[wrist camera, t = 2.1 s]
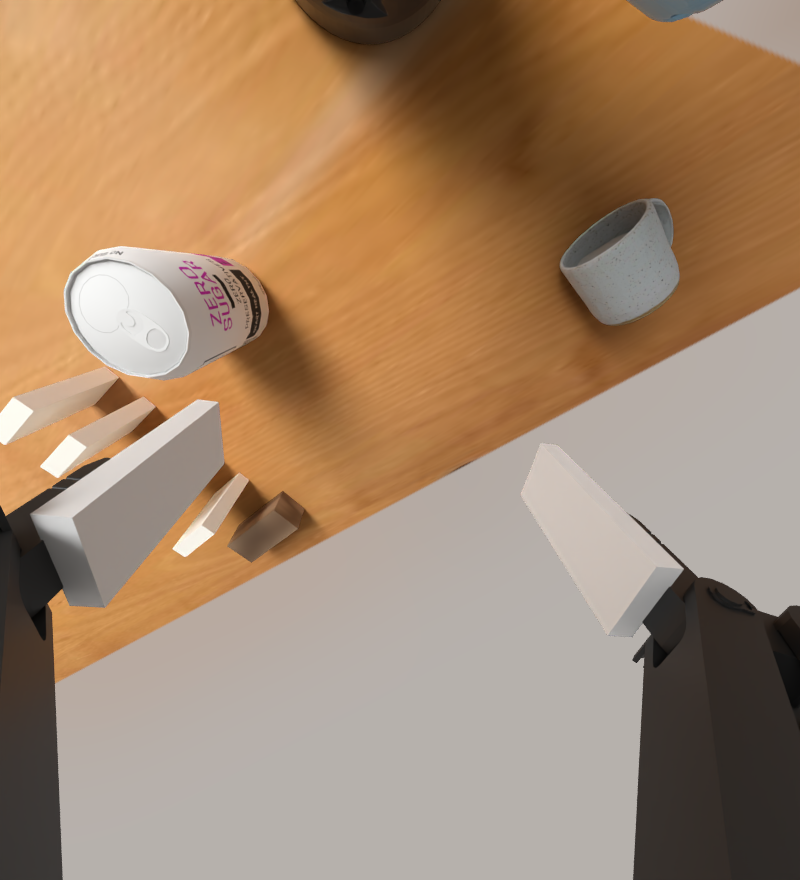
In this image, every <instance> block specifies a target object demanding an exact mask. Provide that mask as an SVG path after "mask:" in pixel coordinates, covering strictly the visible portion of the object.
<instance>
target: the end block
mask: <svg viewBox="0 0 800 880" xmlns="http://www.w3.org/2000/svg"><path fill="white" fill-rule="evenodd" d="M303 512H304V508H303V507H302V506H300V505H299V504H298V503H297V502H295V501H294V500H293V499H292V498H291V497H289V496H288V495H287V494H286V493H284V492H283V491H282V492H281V493H280V494H278V495H277V496H276V497H275V498H273V499H272V500H271V501H269V502H268V503H267V504H266V505H264V506H263V507H262V508H260V509H259V510H258V511H257V512H255V513H254V514H253V515H251V516H250V517H249V518H248V519H246V520H245V521H244V522H243V523H241V524H240V525H239V526H238V528H237V530H236V531H235V533H234V535H233V537H232V538H231V540H230V542H229V544H228V545H227V546H228V547H229V548H231V549H232V550H234V551H235V552H237V553H238V554H240V555H241V556H243V557H244V558H246V559H247V560H248V561H250V562H251V563H252V562H253V561H254V560H256V559H257V558H259V557H260V556H261V555H263V554H264V553H265V552H267V551H268V550H270V549H271V548H272V547H274V546H275V545H276V544H278V543H279V542H281V541H282V540H283V539H285V538H286V537H287V536H289V535H290V534H292V533H293V532H294V531H296V530H297V529H298V527H299V524H300V521H301V518H302V515H303Z"/></svg>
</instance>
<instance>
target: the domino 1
mask: <svg viewBox="0 0 800 880" xmlns="http://www.w3.org/2000/svg"><path fill="white" fill-rule="evenodd" d="M118 378H119V377H118V376H117V375H116V374H114V373H113V372H112V371H110V370H109V369H108V368H107V367H102V368H99V369H96V370H93V371H90V372H87V373H84V374H81V375H78V376H75V377H72V378H69V379H66V380H63V381H60V382H57V383H54V384H51V385H48V386H45V387H42V388H39V389H36V390H33V391H30V392H27V393H24V394H21V395H18V396H15V397H13V398H12V399H11V401H10V402H9V403H8V404H7V406H6V407H5V408H4V409H3V411H2V412H1V413H0V442H1V443H3V444H4V445H7V444H9V443H11V442H14V441H16V440H18V439H20V438H22V437H25V436H27V435H29V434H31V433H33V432H36V431H38V430H40V429H42V428H44V427H47V426H49V425H51V424H53V423H55V422H58V421H60V420H62V419H64V418H66V417H69V416H71V415H73V414H75V413H77V412H80V411H82V410H84V409H86V408H88V407H91V406H93V405H95V404H96V403H97V402H98V400H99V399H100V398H101V397H102V396H103V395H104V394H105V393H106V392H107V390H108V389H109V388H110V387H111V386H112V385H113V384H114V383H115V382H116V381H117V379H118Z"/></svg>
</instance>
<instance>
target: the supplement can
mask: <svg viewBox="0 0 800 880" xmlns="http://www.w3.org/2000/svg"><path fill="white" fill-rule="evenodd" d="M64 302H65V312H66V314H67V317H68V319H69V322H70V324H71V326H72V329H73V331H74V333H75V334H76V335H77V337H78V338H79V339H80V340H81V342H82V343H83V344H84V346H85V347H86V348H87V349H88V351H89V352H91V353H92V354H93V355H95V356H96V357H97V358H98V359H100V360H101V361H102V362H103V363H105V364H106V365H107V366H109V367H112V368H114V369H116V370H118V371H120V372H123V373H125V374H127V375H132V376H139V377H145V378H152V379H159V380H169V379H175V378H180V377H185V376H186V375H188V374H190V373H192V372H194V371H196V370H198V369H200V368H202V367H204V366H206V365H208V364H210V363H211V362H213V361H215V360H217V359H219V358H221V357H223V356H225V355H227V354H229V353H231V352H233V351H235V350H236V349H238V348H240V347H242V346H244V345H246V344H248V343H250V342H251V341H253V340H254V339H256V338H257V337H259V336H260V335H261V333H262V331H263V330H264V328H265V327H266V325H267V320H268V315H269V307H268V301H267V295H266V293H265V291H264V289H263V287H262V285H261V283H260V281H259V280H258V279H257V278H256V277H255V276H254V275H253V274H252V272H251V271H250V270H249V269H248V268H246V267H245V266H243V265H241V264H240V263H238V262H236V261H234V260H233V259H228V258H223V257H218V256H210V255H201V254H191V253H182V252H172V251H163V250H153V249H144V248H134V247H125V246H119V247H113V248H108V249H103V250H98V251H97V252H95V253H94V254H93V255H92V256H90V257H89V258H88V259H87V260H86V261H84V262H83V263H82V264H81V265H80V266H78V267H77V268H76V269H75V270H73V271H72V272H71V273H70V276H69V278H68V281H67V283H66V286H65V288H64Z"/></svg>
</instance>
